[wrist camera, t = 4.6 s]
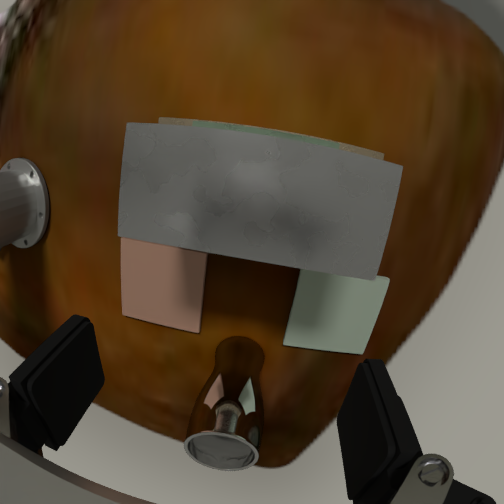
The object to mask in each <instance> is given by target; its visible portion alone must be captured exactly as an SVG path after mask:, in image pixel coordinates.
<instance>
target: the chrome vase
mask: <svg viewBox="0 0 504 504" xmlns="http://www.w3.org/2000/svg"><path fill="white" fill-rule="evenodd" d="M264 359H265V355H264V352H263V349H262V348H261V346H260V345H259V344H258V343H257V342H255V341H254V340H252V339H250V338H247V337H242V336H233V337H229V338H226V339H224V340H223V341H222V342H220V344H219V345H218V346H217V348H216V352H215V366H214V369H213V372H212V373H211V375H210V377H209V378H208V380H207V381H206V383H205V385H204V386H203V388H202V390H201V391H200V393H199V395H198V397H197V399H196V401H195V404H194V407H193V409H192V413H191V416H190V420H189V424H188V429H187V434H186V439H185V442H184V449H185V451H186V453H187V454H188V455H189V456H190V457H191V458H192V459H193V460H195V461H196V462H198V463H200V464H202V465H204V466H207V467H210V468H213V469H218V470H225V471H236V470H243V469H246V468H249V467H251V466H253V465H254V464H255V463H256V462H257V460H258V458H259V450H260V445H261V440H262V434H263V426H264V406H263V398H262V392H261V387H260V372H261V369H262V367H263V364H264Z"/></svg>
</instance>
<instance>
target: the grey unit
mask: <svg viewBox="0 0 504 504" xmlns="http://www.w3.org/2000/svg"><path fill="white" fill-rule="evenodd" d="M383 158H384V154H383V153H379V152H376V151H372V150H368V149H365V148H361V147H357V146H353V145H349V144H345V143H340V142H336V141H332V140H327V139H322V138H318V137H313V136H308V135H303V134H298V133H292V132H287V131H281V130H275V129H269V128H262V127H256V126H248V125H241V124H233V123H225V122H215V121H205V120H194V119H180V118H163V117H159V123H158V124H151V123H127V127H126V134H125V142H124V150H123V160H122V170H121V182H120V196H119V216H118V236H120V237H126V238H131V239H137V240H142V241H147V242H153V243H158V244H164V245H169V246H175V247H181V248H186V249H192V250H197V251H203V252H208V253H214V254H220V255H225V256H231V257H237V258H242V259H248V260H254V261H260V262H265V263H271V264H277V265H283V266H288V267H294V268H300V269H306V270H312V271H317V272H323V273H329V274H335V275H341V276H347V277H353V278H359V279H365V280H371V281H375V279H376V275H377V272H378V269H379V265H380V262H381V259H382V255H383V251H384V248H385V244H386V240H387V237H388V233H389V229H390V225H391V221H392V217H393V212H394V208H395V204H396V199H397V194H398V190H399V185H400V180H401V175H402V169H403V166H400V165H397V164H394V163H390V162H387V161H383Z"/></svg>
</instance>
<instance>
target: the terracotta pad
mask: <svg viewBox="0 0 504 504" xmlns="http://www.w3.org/2000/svg"><path fill="white" fill-rule="evenodd" d="M207 257H208V252H203V251H197V250H192V249H186V248H181V247H175V246H169V245H164V244H158V243H153V242H147V241H142V240H137V239H131V238H126V237H122V238H121V293H122V314H123V315H125V316H129V317H133V318H136V319H140V320H144V321H148V322H152V323H156V324H160V325H164V326H168V327H173V328H177V329H181V330H186V331H190V332H195V333H199V332H200V328H201V316H202V306H203V295H204V285H205V275H206V266H207Z"/></svg>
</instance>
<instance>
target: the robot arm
mask: <svg viewBox="0 0 504 504" xmlns="http://www.w3.org/2000/svg"><path fill="white" fill-rule="evenodd" d="M48 219H49V197H48V190H47V187H46V183H45V180H44V178H43V176H42V174H41V172H40V170H39V169H38V167H37V166H36V165H35V164H34V163H33V162H31V161H30V160H28V159H25V158H16V159H12V160H10V161H8V162H7V163H6V164H5V165H4V166H3V167H2V169H1V170H0V250H1V248H2V247H4V246H6V245H8V244H10V243H12V244H13V245H15V246H16V247H19V248H28V247H30V246H33V245H34V244H36V243H38V241H39V240H40V239H41V238H42V236H43V235H44V233H45V230H46V227H47V224H48ZM9 378H10V382H9V383H7V382H6V380H4V379H3V378H1V377H0V504H156V503H152V502H149V501H145V500H142V499H139V498H136V497H132V496H130V495H127V494H124V493H121V492H118V491H116V490H113V489H110V488H108V487H105V486H103V485H100V484H97V483H95V482H93V481H90V480H88V479H85V478H83V477H81V476H79V475H77V474H74V473H72V472H70V471H68V470H66V469H64V468H62V467H60V466H58V465H56V464H54V463H53V462H51V461H49V460H47V459H45V458H43V453H42V446H43V445H44V444H45V445H46V446H48V447H49V448H51V449H53V450H55V451H57V450H58V448H59V447H60V446H63V445H64V444H65V443H66V441H67V439H68V438H69V437H70V435H71V433H72V432H73V430H74V429H75V427H76V426H77V424H78V422H79V421H80V420H81V418H82V417H83V415H84V414H85V412H86V410H87V409H88V407H89V406H90V404H91V403H92V401H93V400H94V398H95V397H96V395H97V394H98V392H99V391H100V389H101V388H102V387H103V385H104V380H105V378H104V373H103V369H102V365H101V360H100V356H99V351H98V347H97V342H96V336H95V331H94V326H93V324H92V323H91V322H90V320H89V318H87V317H83V316H80V315H73V316H71V317H70V318H69V319H68V320H67V321H66V322H65V323H64V324H63V325H61V326H60V327H59V328H58V329H57V330H56V331H55V332H54V333H53V334H52V335H51V336H50V337H48V338H47V339H46V340H45V341H44V342H43V343H42V344H41V345H40V346H39V347H38V348H37V349H36V350H35V351H34V352H33V353H32V354H31V355H30V356H29V357H28V358H27V359H26V360H25V361H24V362H23V363H22V364H21V365H20V366H19V367H18V368H17V369H16V370H15V371H14V372H13V373H12V374H11V375H10V376H9ZM337 427H338V433H339V439H340V446H341V452H342V458H343V466H344V472H345V479H346V487H347V495H348V499H349V500H353V504H496V502H495V501H494V499H493V498H491V497H490V496H488V495H486V494H484V493H482V492H479V491H477V490H475V489H473V488H471V487H469V486H467V485H465V484H462V483H460V482H458V481H456V480H454V479H453V476H454V472H453V467H452V465H451V463H450V462H449V461H448V460H447V459H446V458H444V457H443V456H441V455H437V454H426V455H423V453H422V450H421V447H420V444H419V442H418V439H417V437H416V434H415V431H414V429H413V426H412V424H411V421H410V418H409V416H408V413H407V411H406V409H405V406H404V404H403V401H402V399H401V398H400V397H399V396H398V395H397V393H396V390H395V388H394V385H393V383H392V381H391V378H390V376H389V374H388V371H387V369H386V367H385V365H384V362H383V361H382V360H381V359H365V360H364V362H363V363H359V365H358V367H357V369H356V372H355V375H354V377H353V380H352V382H351V385H350V387H349V390H348V392H347V395H346V397H345V399H344V402H343V404H342V406H341V409H340V411H339V413H338V416H337Z"/></svg>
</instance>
